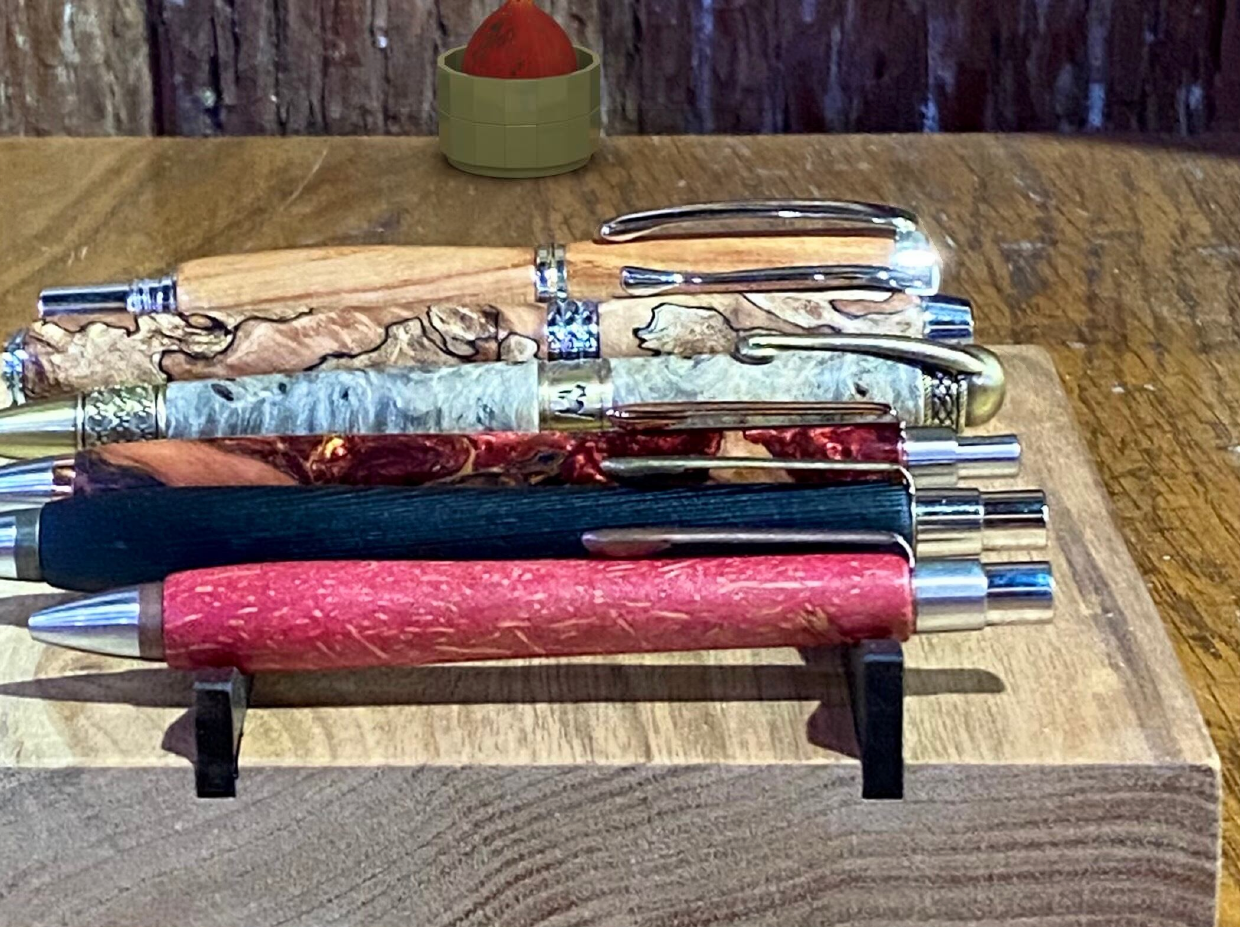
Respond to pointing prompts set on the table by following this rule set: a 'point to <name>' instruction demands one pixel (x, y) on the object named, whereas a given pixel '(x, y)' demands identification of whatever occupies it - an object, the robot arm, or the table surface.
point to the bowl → (519, 119)
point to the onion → (519, 45)
